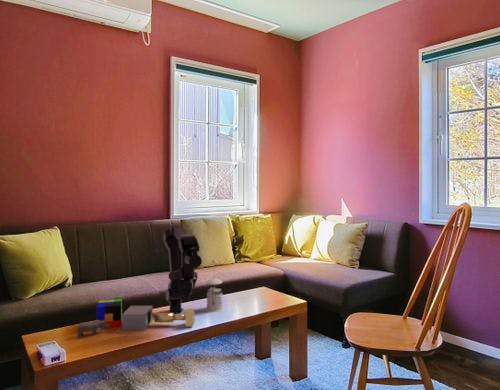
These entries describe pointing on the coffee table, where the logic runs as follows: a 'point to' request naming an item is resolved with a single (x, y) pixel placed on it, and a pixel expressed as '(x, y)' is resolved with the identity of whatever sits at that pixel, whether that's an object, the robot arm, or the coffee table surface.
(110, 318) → the puzzle toy
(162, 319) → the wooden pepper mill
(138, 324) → the housing
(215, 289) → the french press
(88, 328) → the rhino figurine
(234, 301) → the coffee table surface
